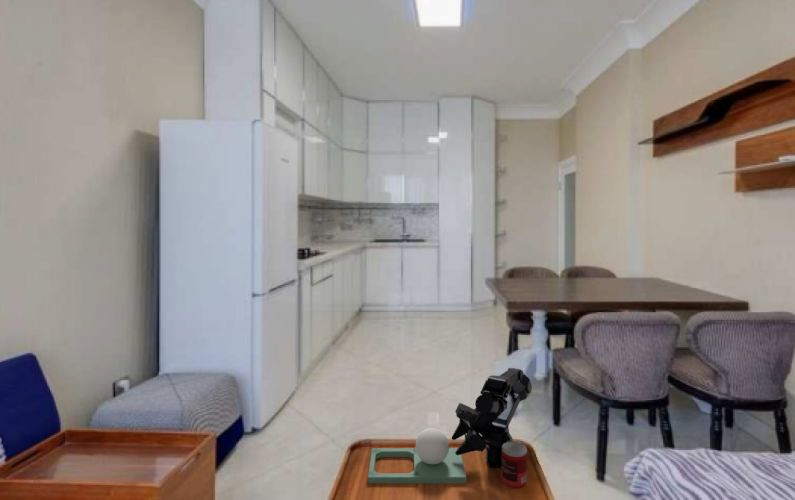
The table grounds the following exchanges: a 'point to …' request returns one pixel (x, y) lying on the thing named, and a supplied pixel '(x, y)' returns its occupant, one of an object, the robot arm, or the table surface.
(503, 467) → the canned food
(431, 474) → the putting board
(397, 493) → the table surface
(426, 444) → the ball
